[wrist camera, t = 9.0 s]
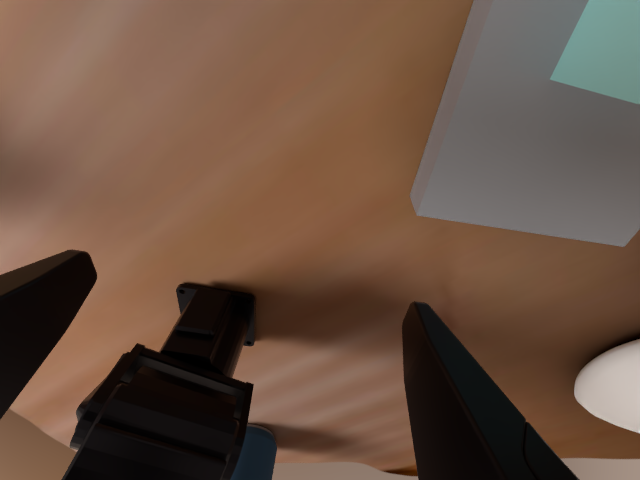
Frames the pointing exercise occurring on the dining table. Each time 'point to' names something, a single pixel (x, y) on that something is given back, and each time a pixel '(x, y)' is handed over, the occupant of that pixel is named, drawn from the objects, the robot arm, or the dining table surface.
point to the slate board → (529, 134)
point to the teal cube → (604, 50)
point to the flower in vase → (613, 386)
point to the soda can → (256, 455)
